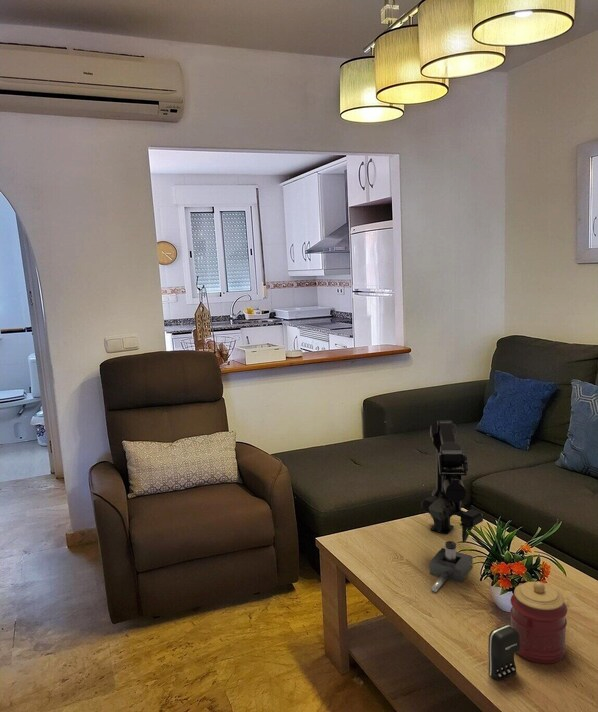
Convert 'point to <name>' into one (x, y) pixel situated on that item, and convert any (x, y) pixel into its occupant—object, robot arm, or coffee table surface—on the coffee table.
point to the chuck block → (450, 568)
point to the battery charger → (503, 651)
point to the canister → (539, 622)
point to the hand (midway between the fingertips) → (451, 536)
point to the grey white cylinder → (450, 552)
